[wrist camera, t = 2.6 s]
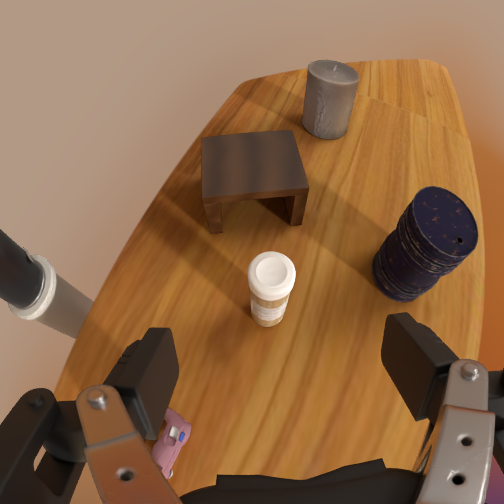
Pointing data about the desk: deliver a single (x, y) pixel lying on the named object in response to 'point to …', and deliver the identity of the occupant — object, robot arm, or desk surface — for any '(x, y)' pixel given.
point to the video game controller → (170, 441)
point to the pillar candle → (329, 98)
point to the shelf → (252, 172)
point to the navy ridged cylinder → (424, 244)
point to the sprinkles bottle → (270, 286)
